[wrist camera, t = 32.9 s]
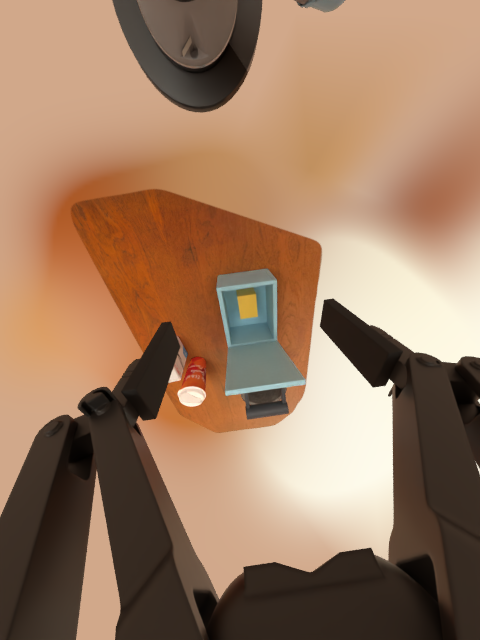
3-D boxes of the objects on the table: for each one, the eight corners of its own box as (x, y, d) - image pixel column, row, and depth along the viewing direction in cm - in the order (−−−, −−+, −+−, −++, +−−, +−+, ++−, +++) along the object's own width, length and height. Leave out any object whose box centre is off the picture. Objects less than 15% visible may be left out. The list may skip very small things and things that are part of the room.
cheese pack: (236, 289, 49) (237, 296, 44) (253, 287, 49) (256, 293, 44) (239, 311, 52) (240, 319, 48) (255, 308, 52) (258, 316, 48)
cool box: (217, 275, 47) (216, 288, 39) (267, 268, 47) (277, 279, 39) (227, 328, 57) (228, 348, 48) (269, 322, 57) (277, 341, 48)
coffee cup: (212, 358, 63) (209, 394, 50) (204, 372, 66) (199, 409, 54) (190, 351, 60) (181, 387, 48) (183, 366, 64) (173, 404, 51)
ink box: (188, 353, 61) (179, 389, 48) (175, 357, 61) (162, 393, 49) (178, 335, 56) (164, 369, 44) (164, 339, 57) (147, 373, 44)
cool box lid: (224, 391, 29) (231, 430, 31) (305, 379, 29) (307, 419, 31) (228, 347, 47) (232, 374, 49) (277, 340, 48) (279, 367, 49)
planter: (241, 341, 60) (246, 374, 47) (279, 345, 62) (293, 378, 49) (234, 369, 67) (236, 405, 54) (268, 372, 69) (278, 407, 56)
